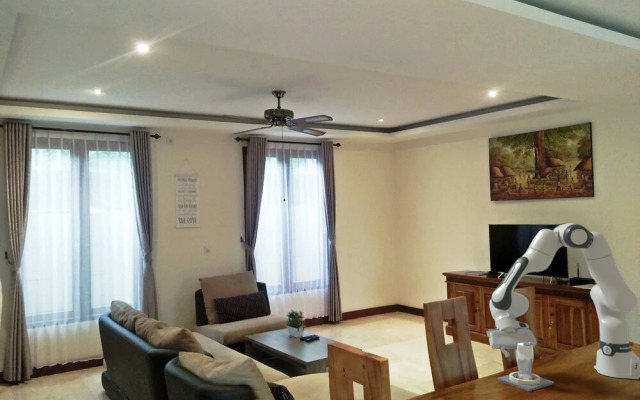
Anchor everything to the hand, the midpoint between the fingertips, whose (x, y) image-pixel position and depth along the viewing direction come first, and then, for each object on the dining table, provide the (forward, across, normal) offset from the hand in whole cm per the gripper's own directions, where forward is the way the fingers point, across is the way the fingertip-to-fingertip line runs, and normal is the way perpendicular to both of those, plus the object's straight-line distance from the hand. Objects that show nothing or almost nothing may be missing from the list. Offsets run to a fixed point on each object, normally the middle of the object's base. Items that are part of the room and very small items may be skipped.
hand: (518, 356), depth 214 cm
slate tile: (+10, 0, +3) cm, 11 cm away
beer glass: (+10, 0, +3) cm, 10 cm away
